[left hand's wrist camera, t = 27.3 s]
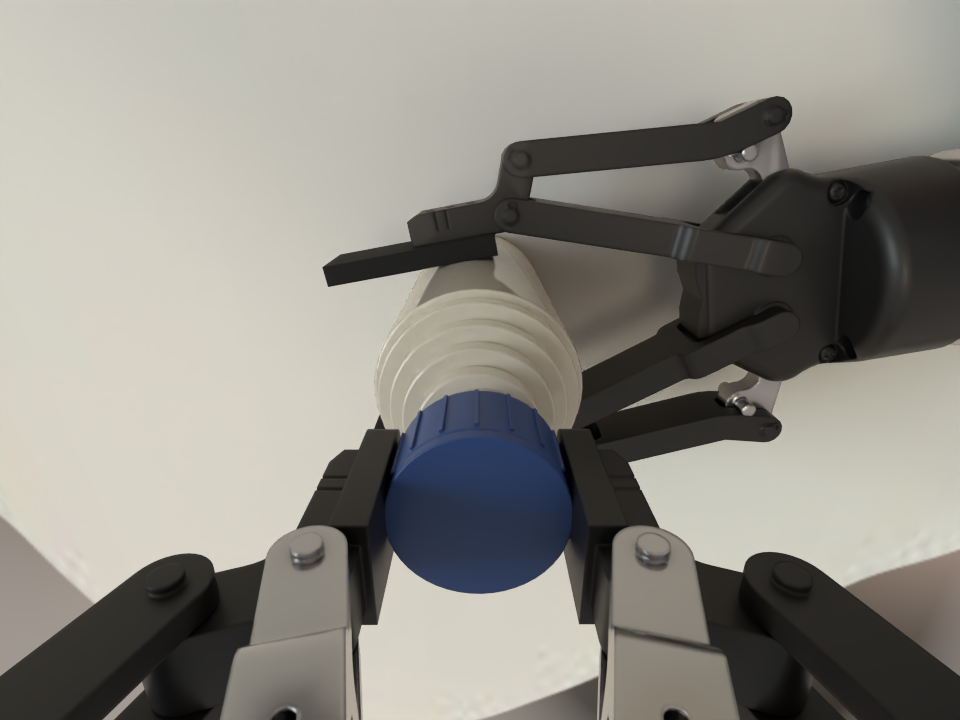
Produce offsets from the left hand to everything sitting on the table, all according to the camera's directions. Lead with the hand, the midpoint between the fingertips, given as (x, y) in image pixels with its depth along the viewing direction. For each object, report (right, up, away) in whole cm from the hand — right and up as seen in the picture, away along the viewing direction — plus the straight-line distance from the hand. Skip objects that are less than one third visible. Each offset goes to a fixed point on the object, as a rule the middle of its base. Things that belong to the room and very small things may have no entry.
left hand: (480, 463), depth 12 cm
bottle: (0, +6, +15) cm, 16 cm away
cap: (0, -1, -2) cm, 2 cm away
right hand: (-5, +3, +10) cm, 11 cm away
